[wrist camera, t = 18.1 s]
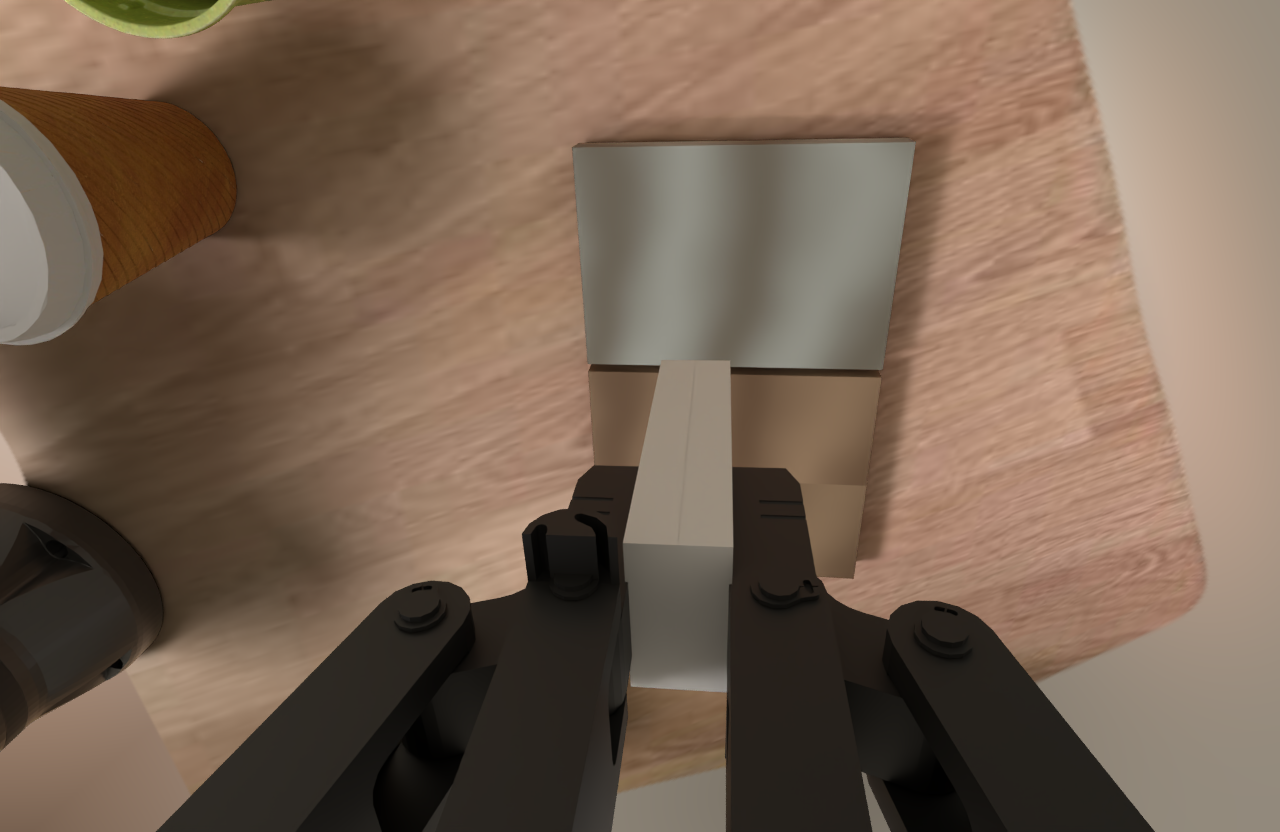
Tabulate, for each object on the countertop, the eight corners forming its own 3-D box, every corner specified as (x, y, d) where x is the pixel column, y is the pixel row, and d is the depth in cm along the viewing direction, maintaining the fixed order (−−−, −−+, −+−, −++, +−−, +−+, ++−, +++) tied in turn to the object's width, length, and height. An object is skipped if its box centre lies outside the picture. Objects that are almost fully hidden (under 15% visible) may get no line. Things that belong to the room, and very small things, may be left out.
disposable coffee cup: (153, 14, 31) (-150, -7, 20) (309, 199, 34) (116, 266, 23) (41, 144, 34) (-270, 185, 24) (192, 303, 37) (-24, 402, 27)
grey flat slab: (592, 352, 36) (587, 363, 35) (578, 143, 31) (572, 147, 30) (877, 357, 34) (882, 369, 33) (908, 137, 29) (915, 141, 28)
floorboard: (605, 549, 41) (601, 565, 40) (593, 360, 36) (588, 371, 35) (849, 562, 40) (853, 578, 39) (876, 366, 34) (881, 377, 33)
